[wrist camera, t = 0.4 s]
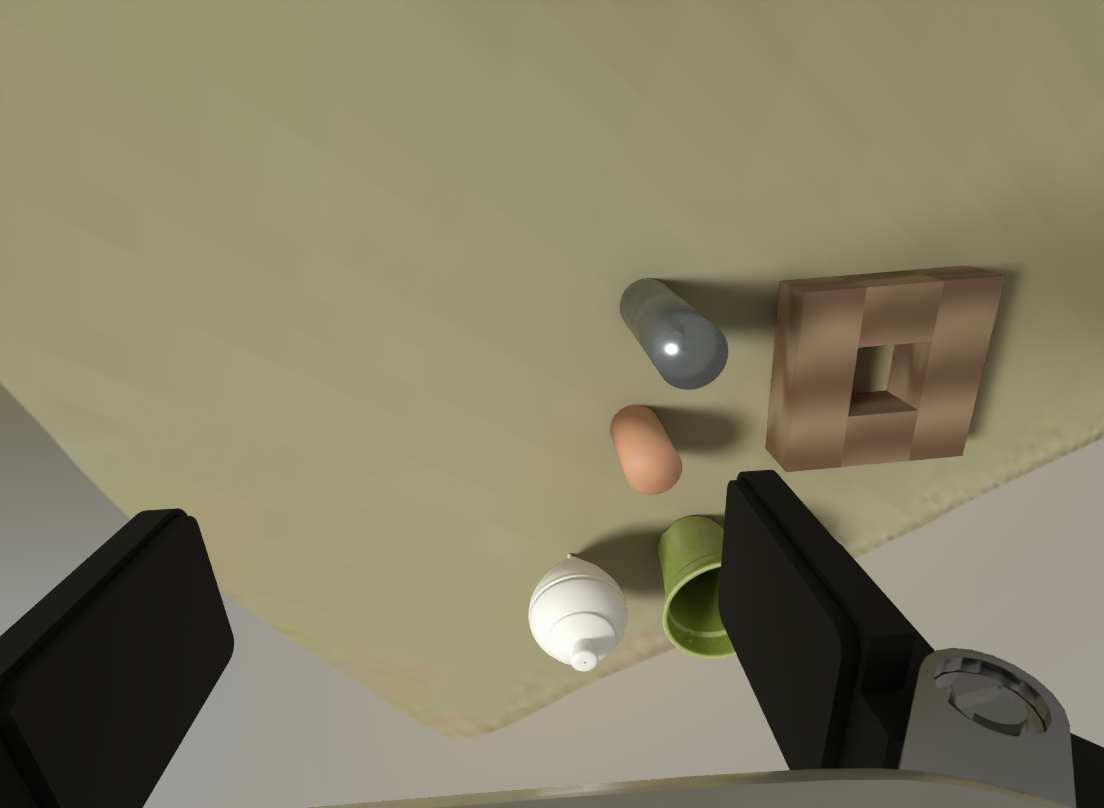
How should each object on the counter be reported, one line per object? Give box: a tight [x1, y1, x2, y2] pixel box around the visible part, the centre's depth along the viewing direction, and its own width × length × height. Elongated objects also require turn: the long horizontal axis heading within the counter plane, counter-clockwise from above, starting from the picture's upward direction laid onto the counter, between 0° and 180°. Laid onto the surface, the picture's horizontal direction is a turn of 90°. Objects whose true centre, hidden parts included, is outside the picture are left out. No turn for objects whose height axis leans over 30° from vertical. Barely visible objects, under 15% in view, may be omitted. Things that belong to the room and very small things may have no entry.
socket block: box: [765, 266, 1005, 472], centre depth 44 cm, size 14×14×4 cm
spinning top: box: [529, 554, 628, 671], centre depth 46 cm, size 8×8×12 cm
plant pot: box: [658, 516, 737, 659], centre depth 48 cm, size 9×9×9 cm
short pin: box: [610, 405, 682, 495], centre depth 44 cm, size 4×4×7 cm
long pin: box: [620, 278, 728, 390], centre depth 37 cm, size 4×4×12 cm
